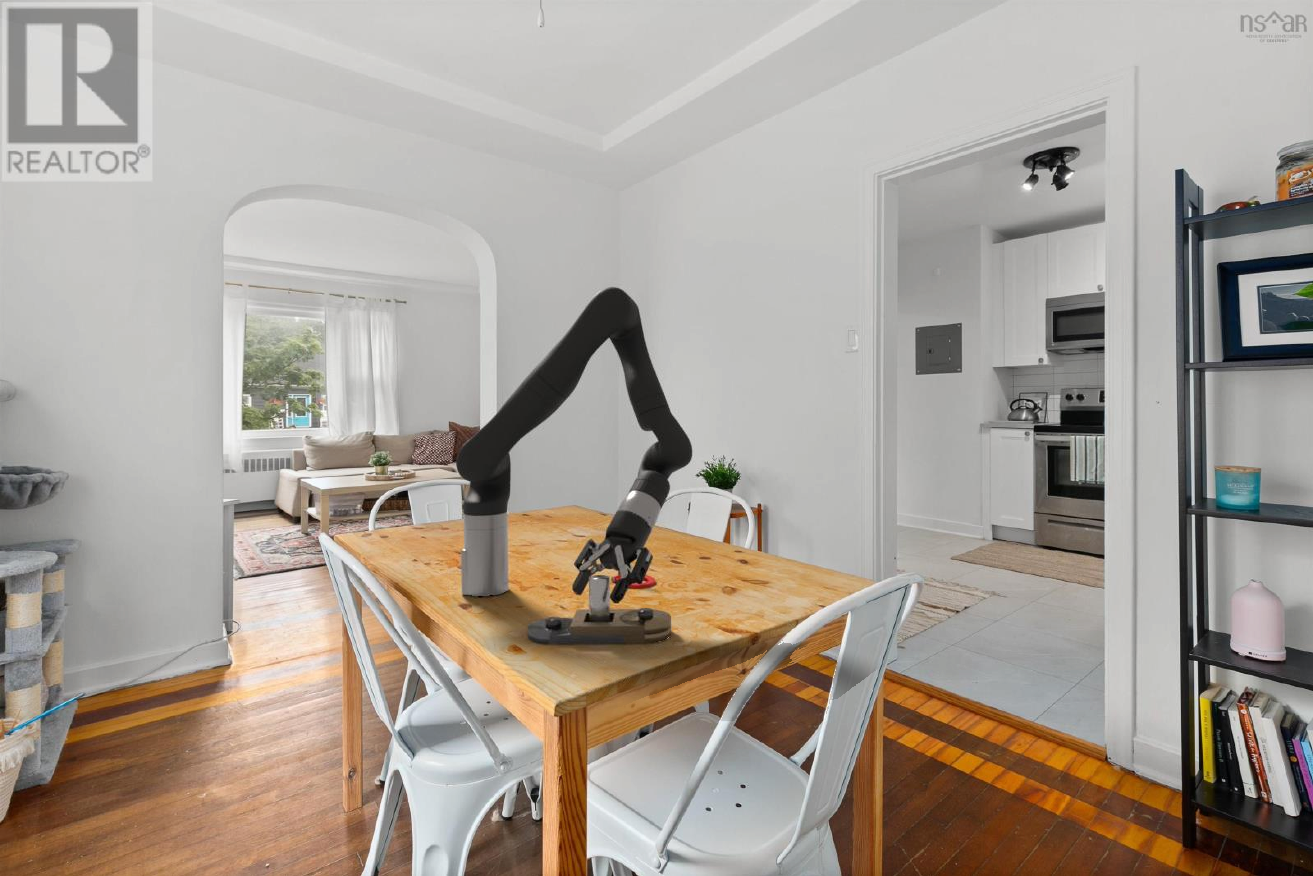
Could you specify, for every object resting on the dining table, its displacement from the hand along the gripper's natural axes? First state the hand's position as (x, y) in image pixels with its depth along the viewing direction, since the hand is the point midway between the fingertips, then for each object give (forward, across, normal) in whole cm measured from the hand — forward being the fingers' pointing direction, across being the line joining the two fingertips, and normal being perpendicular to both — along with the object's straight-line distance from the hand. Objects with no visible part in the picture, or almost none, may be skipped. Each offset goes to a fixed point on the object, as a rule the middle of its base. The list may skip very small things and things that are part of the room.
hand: (594, 596), depth 108 cm
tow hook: (-17, -15, +27) cm, 35 cm away
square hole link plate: (+4, 0, +6) cm, 7 cm away
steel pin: (+4, 0, +6) cm, 7 cm away
